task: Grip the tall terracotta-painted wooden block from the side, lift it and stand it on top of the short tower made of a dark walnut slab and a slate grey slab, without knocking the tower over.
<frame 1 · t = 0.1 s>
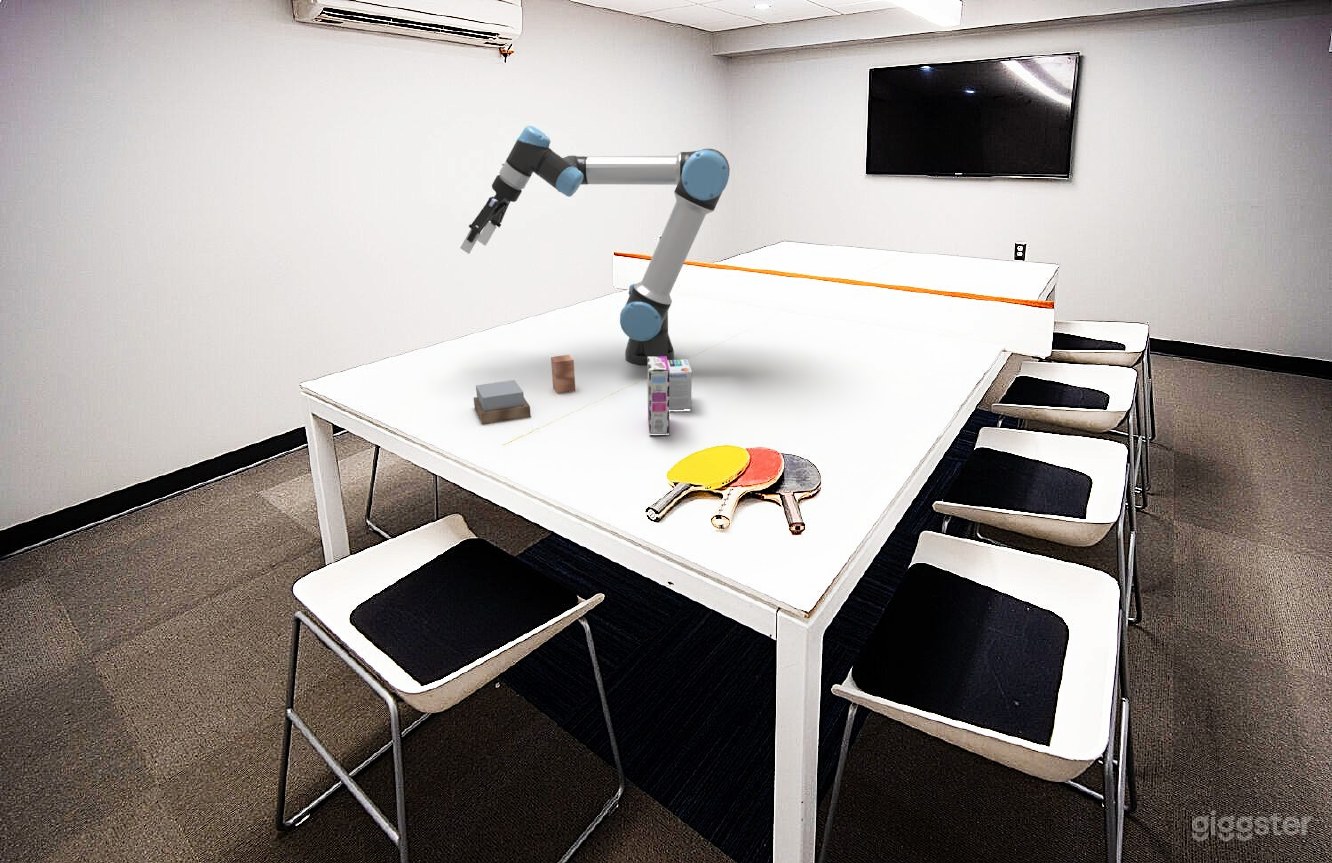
hand: (473, 246, 205), 36 cm above the table, tool tilted 35°, fingers open, 13 cm apart
slate slab: (500, 401, 185), point 3 cm above the table
terracotta block: (564, 389, 201), on the table
walnut slab: (502, 414, 186), on the table
light bulb box: (677, 405, 190), on the table
candy bar box: (658, 428, 177), on the table
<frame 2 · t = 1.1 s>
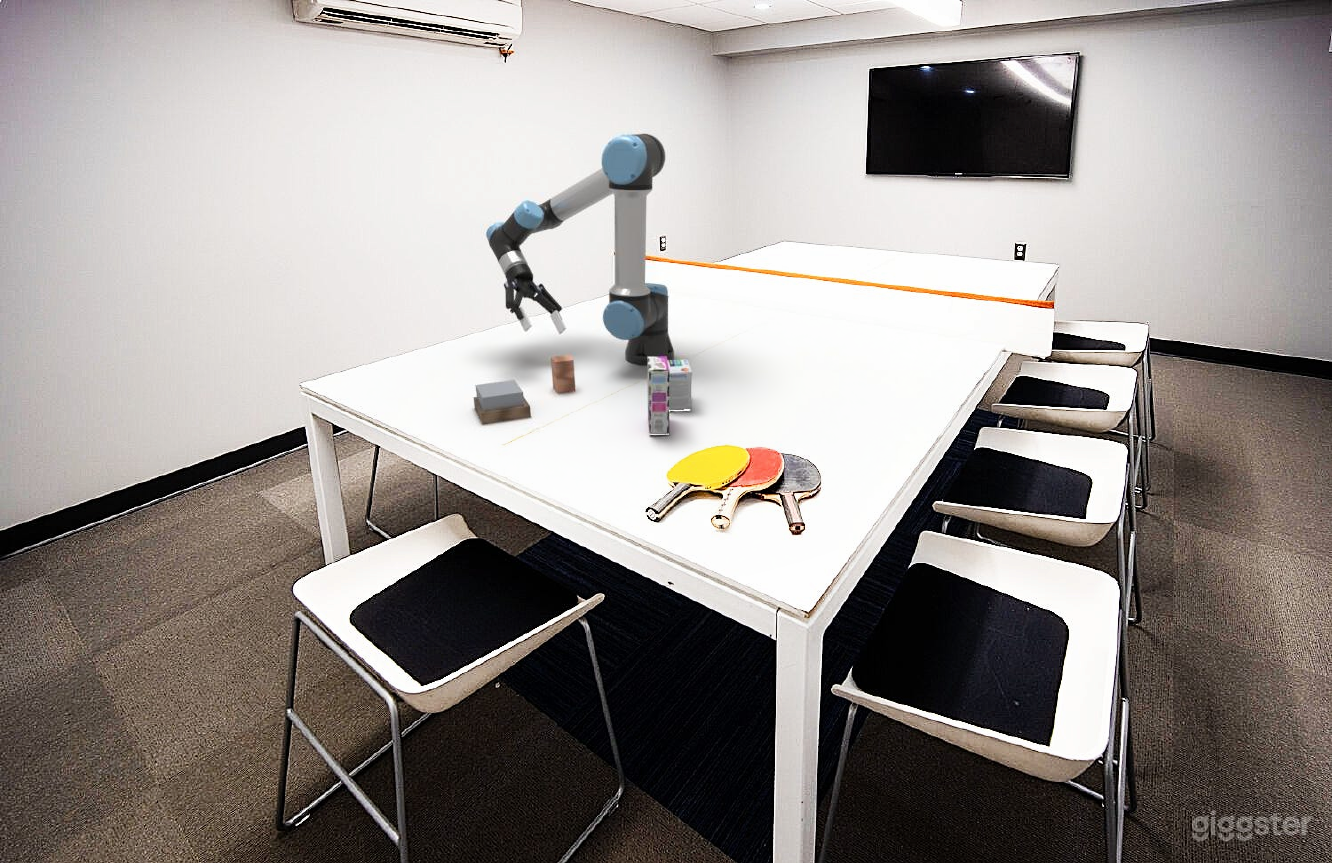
hand: (546, 330, 208), 13 cm above the table, tool tilted 45°, fingers open, 13 cm apart
slate slab: (500, 401, 185), point 3 cm above the table, touching walnut slab
walnut slab: (502, 414, 186), on the table, touching slate slab
everything else where it was.
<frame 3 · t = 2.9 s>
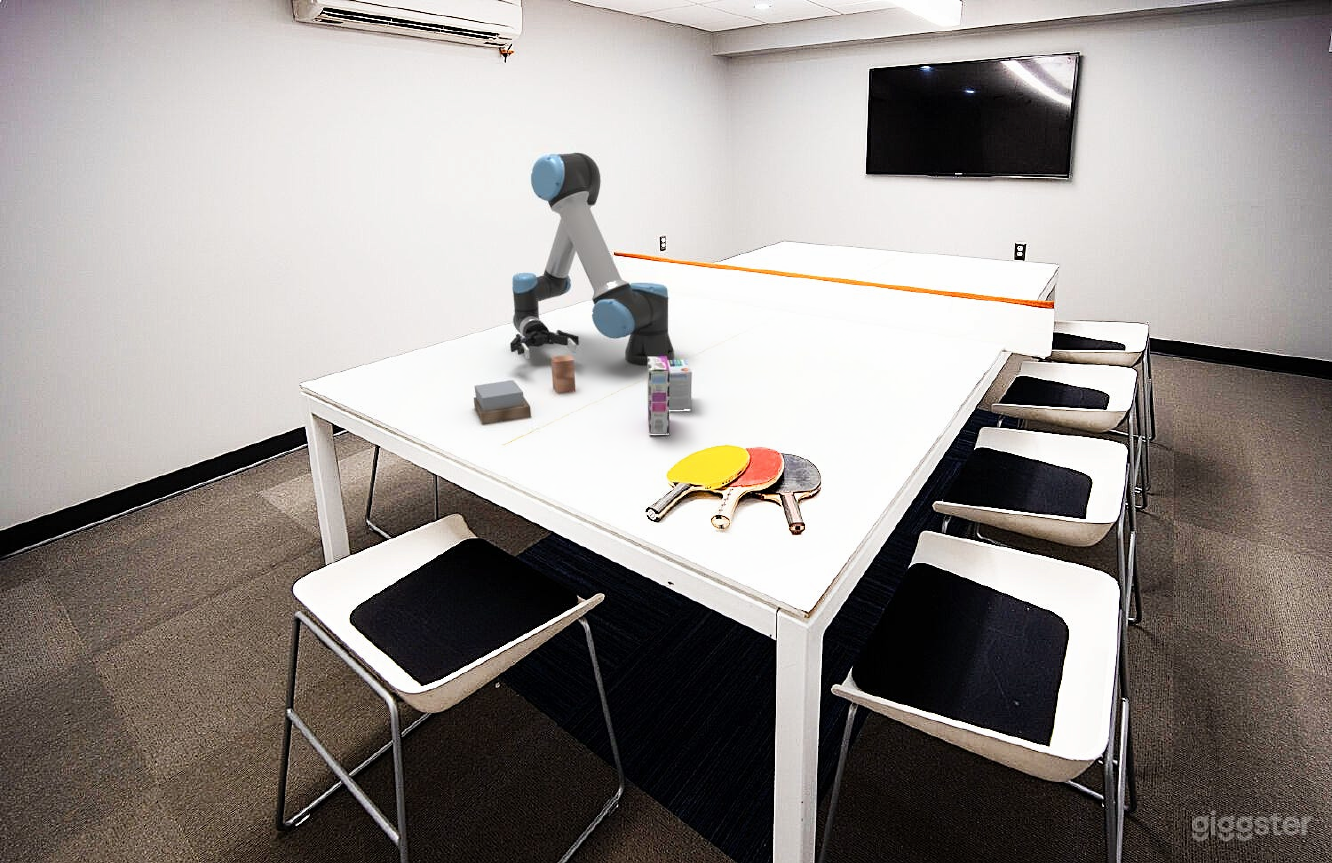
hand: (551, 351, 207), 8 cm above the table, tool horizontal, fingers open, 13 cm apart
nothing on the table moved.
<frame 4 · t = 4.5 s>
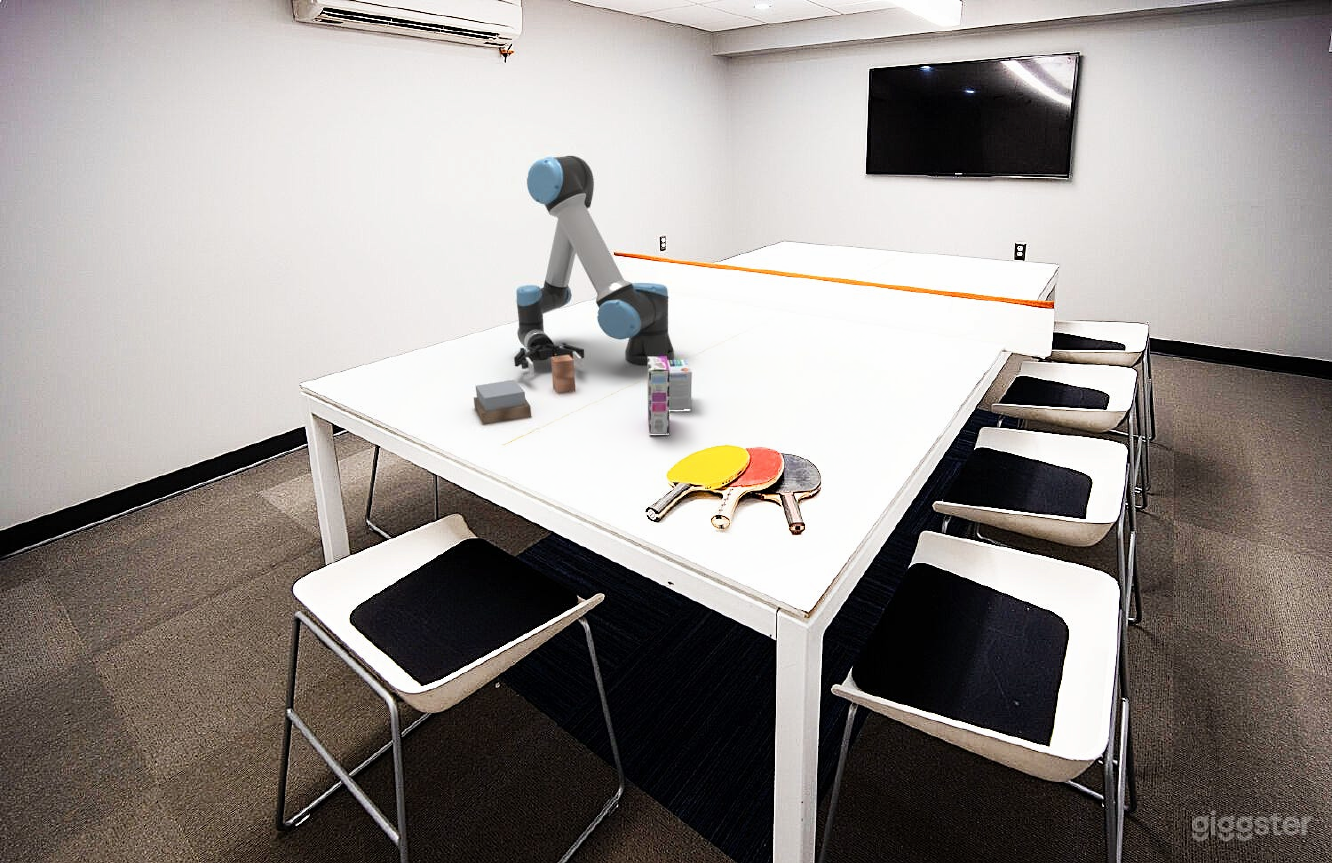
hand: (556, 365, 202), 6 cm above the table, tool horizontal, fingers open, 13 cm apart
nothing on the table moved.
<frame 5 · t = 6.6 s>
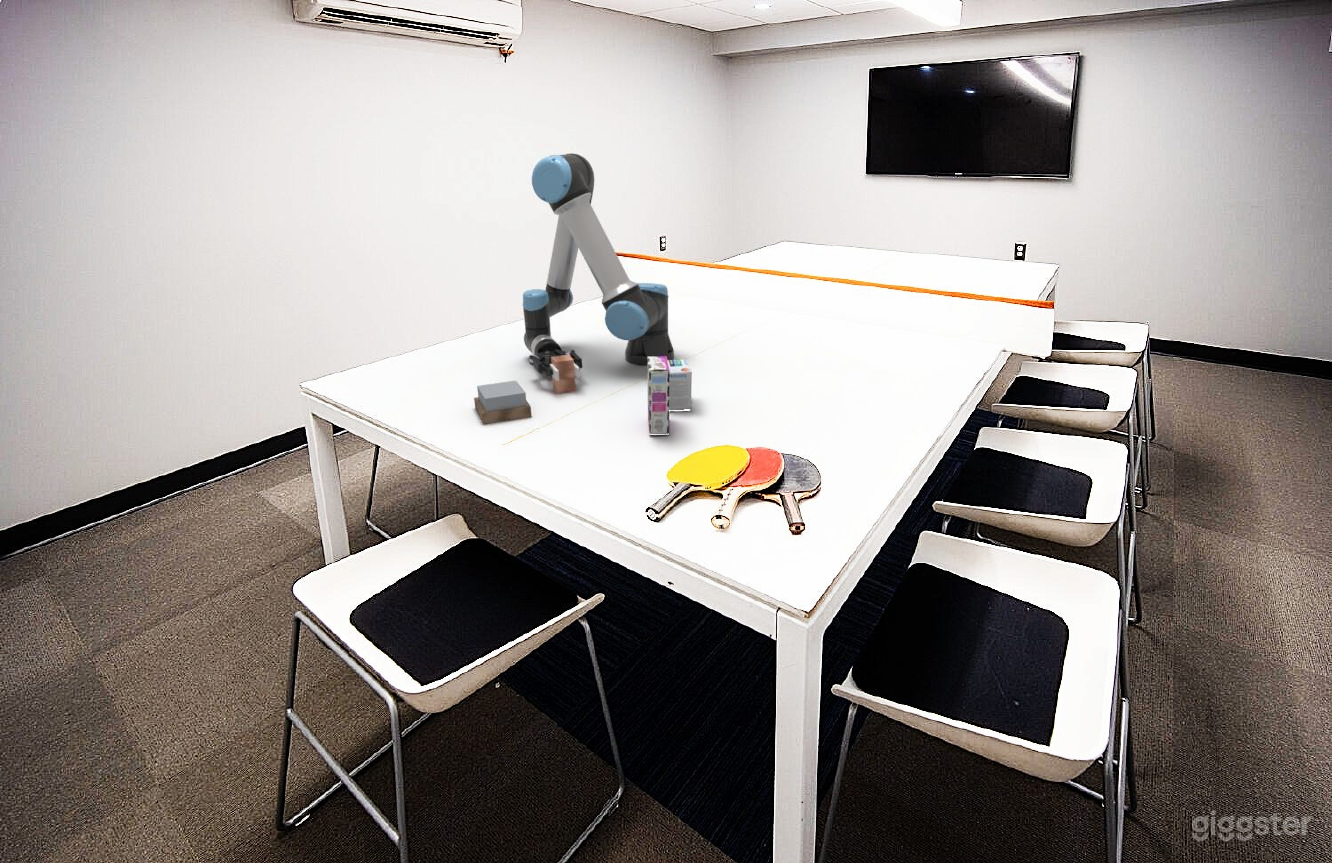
hand: (568, 374, 194), 6 cm above the table, tool horizontal, fingers closed on terracotta block, 5 cm apart
terracotta block: (564, 389, 201), on the table, touching gripper
everything else where it was.
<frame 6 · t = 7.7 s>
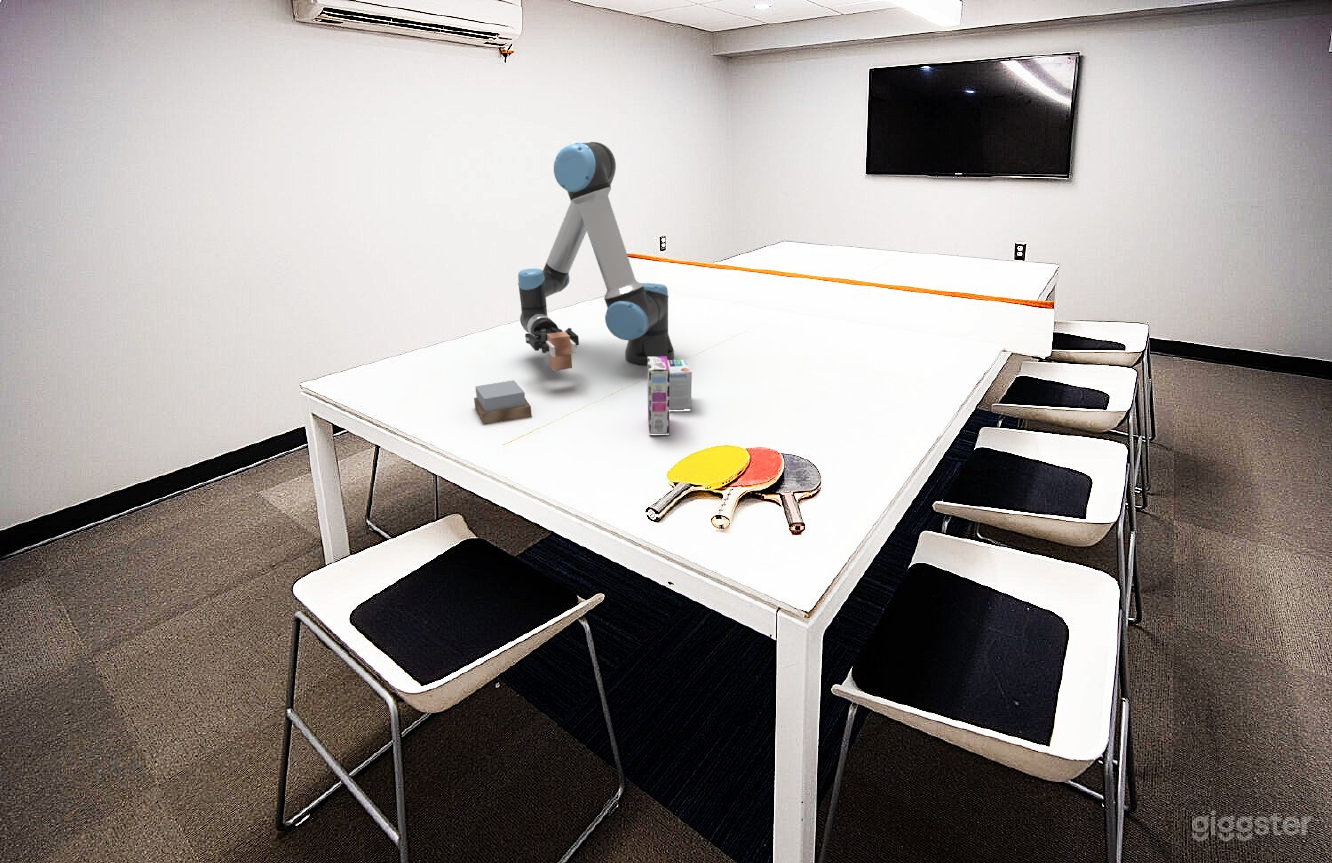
hand: (564, 350, 192), 13 cm above the table, tool horizontal, fingers closed on terracotta block, 5 cm apart
terracotta block: (560, 366, 199), point 6 cm above the table, touching gripper
everything else where it was.
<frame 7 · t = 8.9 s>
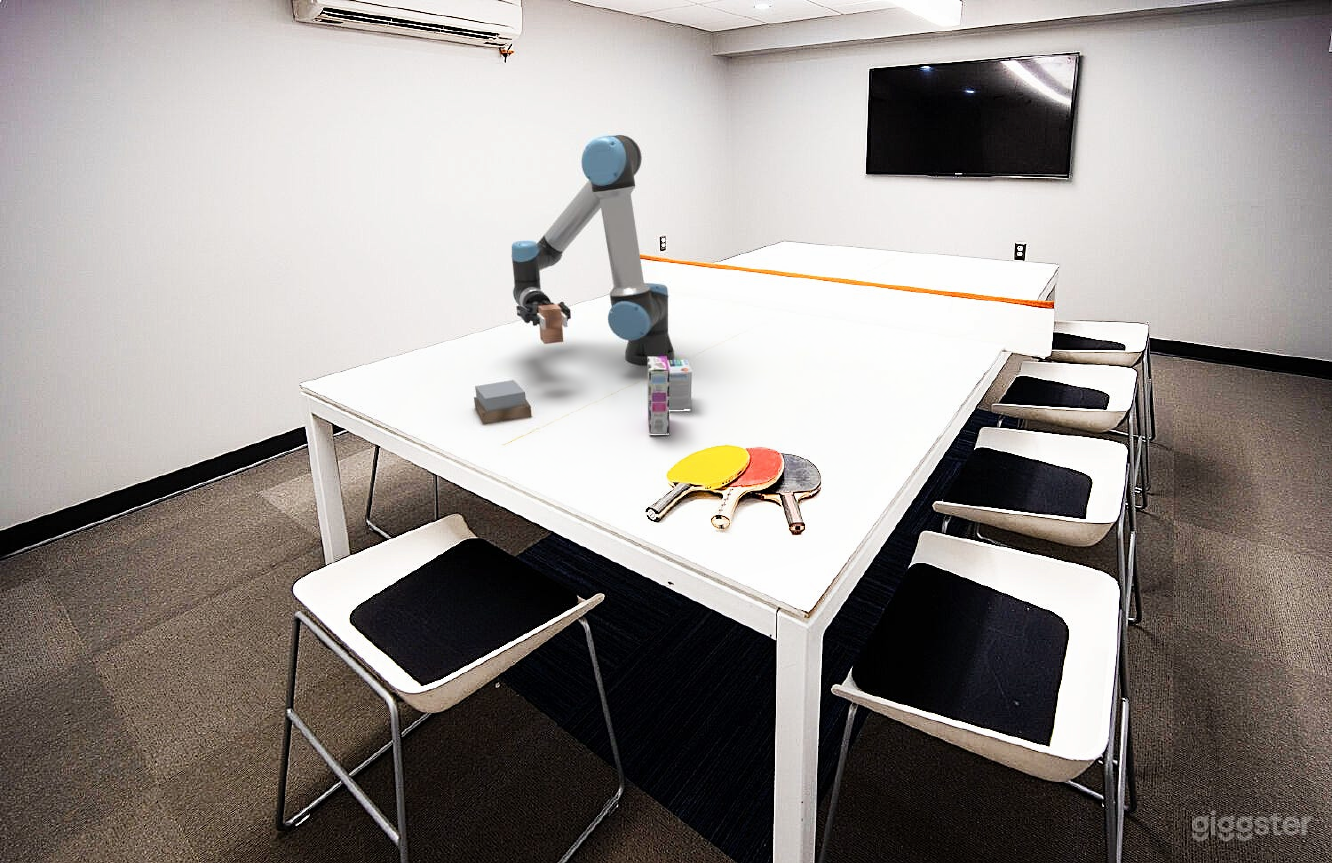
hand: (555, 323, 188), 20 cm above the table, tool horizontal, fingers closed on terracotta block, 5 cm apart
terracotta block: (551, 340, 195), point 14 cm above the table, touching gripper
everything else where it was.
when the fingers open (14 cm above the table, at t = 11.6 s): terracotta block drops 2 cm, resting on slate slab.
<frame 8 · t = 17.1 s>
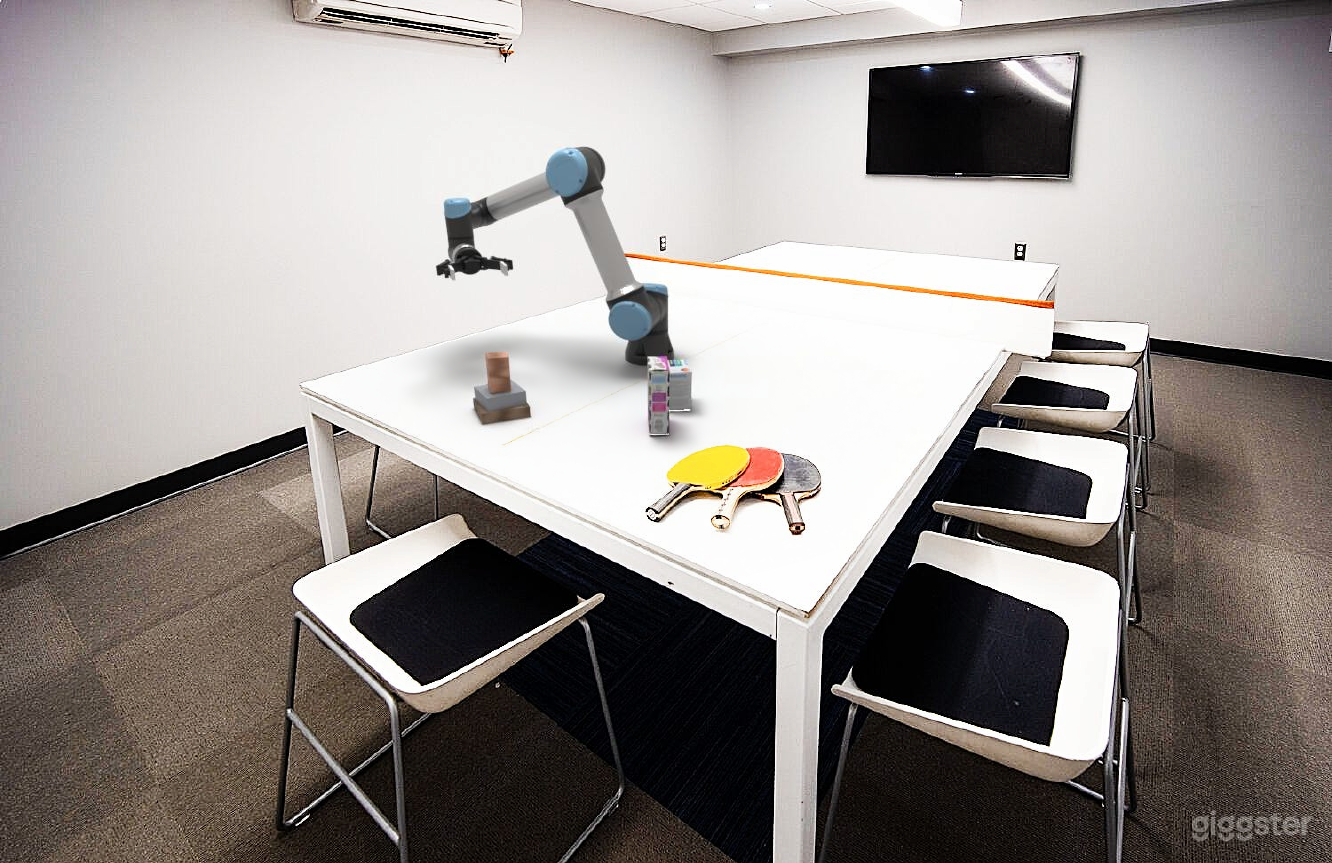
hand: (480, 272, 190), 32 cm above the table, tool horizontal, fingers open, 13 cm apart
slate slab: (500, 401, 185), point 3 cm above the table, touching terracotta block, walnut slab
terracotta block: (499, 389, 184), point 6 cm above the table, touching slate slab
everything else where it was.
at the end: terracotta block 0.5 cm off-centre on the slate slab, point 3.5 cm above the slate slab's base; slate slab moved 0.7 cm from its start; terracotta block tilted 0° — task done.
